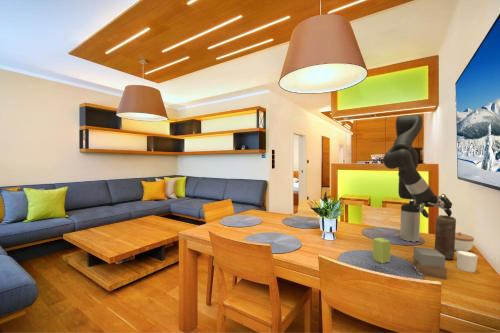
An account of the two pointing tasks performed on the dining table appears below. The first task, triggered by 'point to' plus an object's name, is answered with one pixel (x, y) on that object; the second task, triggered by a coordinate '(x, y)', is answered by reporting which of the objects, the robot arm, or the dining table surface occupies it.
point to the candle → (445, 235)
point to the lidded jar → (463, 242)
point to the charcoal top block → (429, 257)
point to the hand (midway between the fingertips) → (438, 215)
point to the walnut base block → (430, 270)
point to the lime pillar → (381, 250)
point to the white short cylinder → (466, 261)
